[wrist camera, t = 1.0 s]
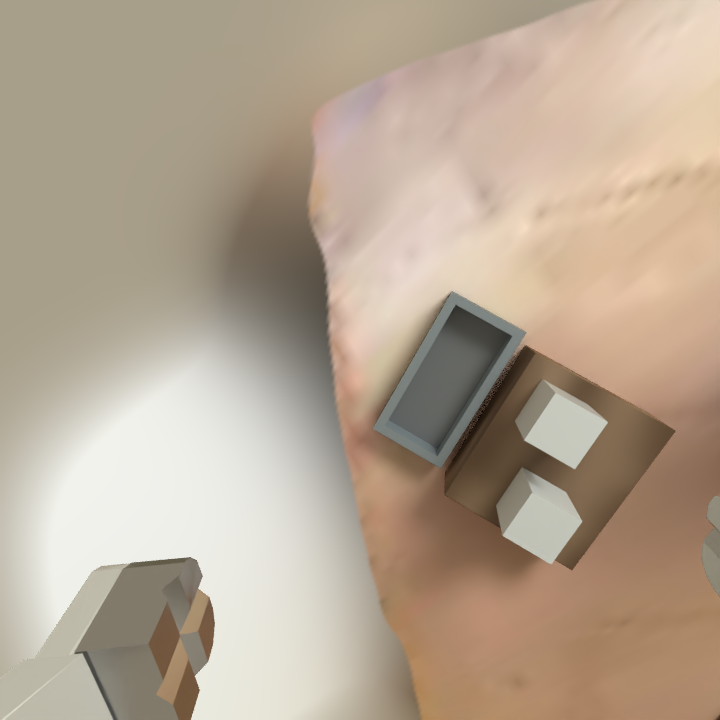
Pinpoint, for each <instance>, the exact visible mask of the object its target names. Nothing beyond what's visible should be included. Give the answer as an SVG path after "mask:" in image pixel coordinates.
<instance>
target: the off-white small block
mask: <svg viewBox="0 0 720 720" xmlns="http://www.w3.org/2000/svg"><path fill="white" fill-rule="evenodd" d="M496 508H497V513H498V518H499V522H500V527H501V532H502V536H504V537H505V538H507V539H509V540H511V541H512V542H514V543H516V544H517V545H519V546H521V547H522V548H524V549H526V550H527V551H529V552H531V553H532V554H534V555H536V556H538V557H539V558H541V559H543V560H544V561H546V562H548V563H549V564H552V563H553V561H554V560H555V559H556V557H557V556H558V554H559V553H560V552H561V550H562V549H563V548H564V546H565V545H566V543H567V542H568V541H569V539H570V538H571V537H572V535H573V534H574V533H575V531H576V530H577V528H578V527H579V526H580V524H581V523H582V520H581V518H580V516H579V514H578V513H577V511H576V509H575V507H574V505H573V504H572V502H571V500H570V498H569V497H568V495H567V493H566V492H565V491H563V490H561V489H560V488H558V487H556V486H554V485H553V484H551V483H549V482H547V481H546V480H544V479H542V478H541V477H539V476H537V475H535V474H534V473H532V472H530V471H528V470H527V469H525V468H523V467H522V468H521V469H520V471H519V472H518V474H517V475H516V477H515V478H514V480H513V481H512V483H511V484H510V486H509V487H508V489H507V490H506V491H505V493H504V494H503V496H502V497H501V499H500V500H499V502H498V503H497V505H496Z"/></svg>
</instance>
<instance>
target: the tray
mask: <svg viewBox="0 0 720 720" xmlns="http://www.w3.org/2000/svg"><path fill="white" fill-rule="evenodd" d="M525 334H526V332H525V331H523V330H522V329H520V328H518V327H516V326H514V325H512V324H511V323H509V322H507V321H505V320H503V319H502V318H500V317H498V316H496V315H494V314H493V313H491V312H489V311H487V310H485V309H484V308H482V307H480V306H478V305H476V304H475V303H473V302H471V301H469V300H467V299H466V298H464V297H462V296H460V295H458V294H456V293H455V292H453V291H452V292H451V294H450V295H449V297H448V299H447V301H446V302H445V304H444V306H443V307H442V309H441V311H440V313H439V314H438V316H437V318H436V320H435V321H434V323H433V325H432V326H431V328H430V330H429V332H428V333H427V335H426V337H425V339H424V340H423V342H422V344H421V345H420V347H419V349H418V351H417V352H416V354H415V356H414V358H413V359H412V361H411V363H410V364H409V366H408V368H407V370H406V371H405V373H404V375H403V377H402V378H401V380H400V382H399V383H398V385H397V387H396V389H395V390H394V392H393V394H392V395H391V397H390V399H389V401H388V402H387V404H386V406H385V408H384V409H383V411H382V413H381V414H380V416H379V418H378V420H377V421H376V423H375V425H374V427H373V429H374V430H376V431H378V432H379V433H381V434H383V435H384V436H386V437H388V438H389V439H391V440H393V441H395V442H396V443H398V444H400V445H401V446H403V447H405V448H407V449H408V450H410V451H412V452H413V453H415V454H417V455H418V456H420V457H422V458H424V459H425V460H427V461H429V462H430V463H432V464H434V465H436V466H437V467H439V468H441V467H442V466H443V464H444V463H445V461H446V459H447V458H448V456H449V455H450V453H451V451H452V450H453V448H454V447H455V445H456V443H457V442H458V440H459V439H460V437H461V436H462V434H463V432H464V431H465V429H466V428H467V426H468V424H469V423H470V421H471V420H472V418H473V416H474V415H475V413H476V412H477V410H478V409H479V407H480V405H481V404H482V402H483V401H484V399H485V397H486V396H487V394H488V393H489V391H490V390H491V388H492V386H493V385H494V383H495V382H496V380H497V378H498V377H499V375H500V374H501V372H502V370H503V369H504V367H505V366H506V364H507V363H508V361H509V359H510V358H511V356H512V355H513V353H514V351H515V350H516V348H517V347H518V345H519V344H520V342H521V340H522V339H523V337H524V336H525Z"/></svg>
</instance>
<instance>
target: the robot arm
mask: <svg viewBox="0 0 720 720" xmlns="http://www.w3.org/2000/svg"><path fill="white" fill-rule="evenodd" d="M706 518H707V519H708V520H709V522H710V523H711V524H712V525H713V527H714V529H713V530H712V531H711V533H710V534H709V535H708V536H707V537H706V538H705V539H704V540H703V546H702V558H701V559H702V562H703V566H704V569H705V573H706V576H707V578H708V580H709V582H710V583H711V585H712V587H713V589H714V590H715V592H716V593H717V594H718V595H719V597H720V495H718V496H714V497H713V499H712V500H711V501H710V503H709V504H708V510H707V516H706ZM201 579H202V573H201V570H200V568H199V565H198V562H197V560H195V559H193V558H191V557H189V558H178V559H167V560H156V561H145V562H134V563H130V564H120V565H108V566H101V567H99V568H98V569H96V570H94V571H93V572H92V573H91V574H90V576H89V577H88V579H87V580H86V582H85V583H84V585H83V586H82V588H81V589H80V591H79V592H78V594H77V595H76V597H75V598H74V600H73V601H72V603H71V604H70V606H69V608H68V609H67V610H66V612H65V613H64V615H63V616H62V618H61V620H60V621H59V622H58V624H57V625H56V627H55V628H54V630H53V632H52V633H51V634H50V636H49V638H48V639H47V640H46V642H45V643H44V645H43V647H42V648H41V650H40V652H39V653H38V654H37V656H36V657H35V659H27V660H23V661H22V662H20V663H19V664H18V665H17V666H15V667H14V668H13V669H11V670H10V671H9V672H7V673H6V674H5V675H3V676H2V677H1V678H0V720H191V717H192V713H193V710H194V707H195V704H196V700H197V697H198V694H199V687H198V684H197V681H196V678H195V675H196V674H197V673H198V672H199V671H200V670H201V669H202V668H203V666H204V665H205V664H206V663H207V662H208V660H209V657H210V653H211V649H212V646H213V637H214V626H215V622H214V613H213V607H212V604H211V601H210V598H209V597H208V596H207V595H206V594H204V593H203V592H202V591H201V590H199V589H198V587H199V584H200V582H201Z"/></svg>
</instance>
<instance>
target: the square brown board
mask: <svg viewBox="0 0 720 720" xmlns="http://www.w3.org/2000/svg"><path fill="white" fill-rule="evenodd" d="M542 379H543V380H545V381H547V382H549V383H550V384H552V385H554V386H556V387H558V388H559V389H561V390H563V391H565V392H567V393H568V394H570V395H572V396H574V397H575V398H577V399H579V400H581V401H583V402H584V403H586V404H588V405H589V406H590V407H591V408H593V409H594V410H595V411H596V412H597V413H598V414H599V415H601V416H602V417H603V418H604V419H605V420H606V421H607V422H608V423H607V425H606V426H605V427H604V429H603V430H602V432H601V433H600V434H599V436H598V437H597V439H596V440H595V442H594V443H593V444H592V446H591V447H590V449H589V450H588V451H587V453H586V454H585V456H584V457H583V459H582V460H581V461H580V463H579V464H578V466H577V467H576V469H573V468H572V467H570V466H568V465H566V464H565V463H563V462H561V461H559V460H558V459H556V458H554V457H552V456H551V455H549V454H547V453H545V452H544V451H542V450H540V449H538V448H537V447H535V446H533V445H531V444H530V443H528V442H526V441H524V439H523V437H522V435H521V433H520V431H519V429H518V427H517V425H516V422H515V420H516V418H517V417H518V415H519V414H520V412H521V411H522V409H523V407H524V406H525V404H526V403H527V401H528V400H529V398H530V397H531V395H532V394H533V392H534V391H535V389H536V388H537V386H538V385H539V383H540V381H541V380H542ZM674 433H675V430H673V429H672V428H670V427H669V426H667V425H666V424H664V423H663V422H661V421H660V420H658V419H657V418H655V417H654V416H652V415H650V414H649V413H647V412H645V411H643V410H642V409H640V408H638V407H636V406H634V405H633V404H631V403H629V402H627V401H625V400H624V399H622V398H620V397H618V396H616V395H615V394H613V393H611V392H609V391H607V390H606V389H604V388H602V387H600V386H598V385H597V384H595V383H593V382H591V381H589V380H588V379H586V378H584V377H582V376H580V375H579V374H577V373H575V372H573V371H571V370H570V369H568V368H566V367H564V366H562V365H561V364H559V363H557V362H555V361H553V360H552V359H550V358H548V357H546V356H544V355H543V354H541V353H539V352H537V351H535V350H534V349H532V348H530V347H528V346H525V347H524V349H523V351H522V352H521V354H520V355H519V357H518V358H517V360H516V362H515V363H514V365H513V366H512V368H511V369H510V371H509V373H508V374H507V376H506V377H505V379H504V381H503V382H502V384H501V385H500V387H499V388H498V390H497V392H496V393H495V395H494V396H493V398H492V399H491V401H490V403H489V404H488V406H487V407H486V409H485V410H484V412H483V414H482V415H481V417H480V418H479V420H478V422H477V423H476V425H475V426H474V428H473V429H472V431H471V433H470V434H469V436H468V437H467V439H466V440H465V442H464V444H463V445H462V447H461V448H460V450H459V451H458V453H457V455H456V456H455V458H454V459H453V461H452V463H451V464H450V466H449V467H448V469H447V470H446V472H445V496H447V497H449V498H451V499H452V500H454V501H456V502H457V503H459V504H461V505H462V506H464V507H466V508H467V509H469V510H471V511H473V512H474V513H476V514H478V515H479V516H481V517H483V518H484V519H486V520H488V521H489V522H491V523H493V524H495V525H496V526H498V527H500V522H499V518H498V513H497V508H496V505H497V503H498V502H499V500H500V499H501V497H502V496H503V494H504V493H505V491H506V490H507V489H508V487H509V486H510V484H511V483H512V481H513V480H514V478H515V477H516V475H517V474H518V472H519V471H520V469H521V468H522V467H523V468H525V469H527V470H528V471H530V472H532V473H534V474H535V475H537V476H539V477H541V478H542V479H544V480H546V481H547V482H549V483H551V484H553V485H554V486H556V487H558V488H560V489H561V490H563V491H565V492H566V493H567V495H568V497H569V498H570V500H571V502H572V504H573V505H574V507H575V509H576V511H577V513H578V514H579V516H580V518H581V520H582V523H581V524H580V526H579V527H578V528H577V530H576V531H575V533H574V534H573V535H572V537H571V538H570V539H569V541H568V542H567V543H566V545H565V546H564V548H563V549H562V550H561V552H560V553H559V554H558V556H557V557H556V559H555V560H556V561H557V562H559V563H561V564H562V565H564V566H566V567H567V568H569V569H571V570H573V568H574V567H575V566H576V564H577V563H578V561H579V560H580V559H581V557H582V556H583V555H584V553H585V552H586V551H587V549H588V548H589V547H590V545H591V544H592V543H593V541H594V540H595V539H596V537H597V536H598V535H599V533H600V532H601V531H602V529H603V528H604V527H605V525H606V524H607V523H608V521H609V520H610V519H611V517H612V516H613V514H614V513H615V512H616V510H617V509H618V508H619V506H620V505H621V504H622V502H623V501H624V500H625V498H626V497H627V496H628V494H629V493H630V492H631V490H632V489H633V488H634V486H635V485H636V484H637V482H638V481H639V480H640V478H641V477H642V476H643V474H644V473H645V472H646V470H647V469H648V468H649V466H650V465H651V463H652V462H653V461H654V459H655V458H656V457H657V455H658V454H659V453H660V451H661V450H662V449H663V447H664V446H665V445H666V443H667V442H668V441H669V439H670V438H671V437H672V435H673V434H674ZM500 528H501V527H500Z"/></svg>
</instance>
